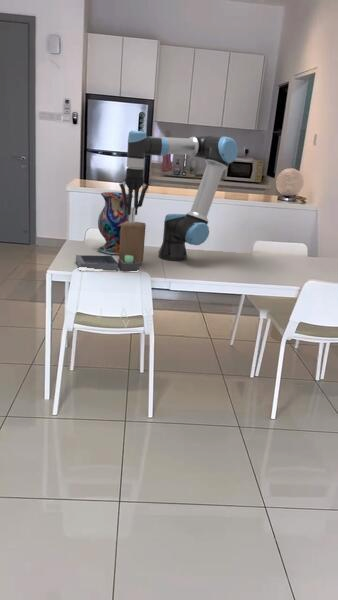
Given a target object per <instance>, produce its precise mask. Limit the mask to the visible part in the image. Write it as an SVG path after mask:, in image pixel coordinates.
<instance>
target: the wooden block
mask: <svg viewBox="0 0 338 600" xmlns="http://www.w3.org/2000/svg"><path fill="white" fill-rule="evenodd" d="M146 226H147V224H146V223H145V222H142V221H141V222H139V221H135V222H134V223H133V222H132V223H130V222H129V221H126V222H124V223H122V224H121V233H120V249H119V254H118V259H125V255H132V256H134V257H133V259H135V260H136V261H137V262H138V263H139V266H140V265H141V264H142V263H144V253H145V252H144V251H145V241H146V240H145V238H146Z"/></svg>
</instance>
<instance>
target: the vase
mask: <svg viewBox="0 0 338 600" xmlns="http://www.w3.org/2000/svg"><path fill="white" fill-rule="evenodd" d="M100 195H101V196H102V198H103V200H104V206H103V208H102V210H101V211H100V213H99V214H98V219H97V226H98V231H99V233H100V235H101V236H102V237H103V238H104V240H105V243H104V244H103V245H102V246H100V247H98V251H99V252H101V253H103V254H110V255H119V249H120V233H121V224H122V223H124V222H126V221H129V215H128V214H127V206H125V205H124V204H123V198H122V192H115V191H112V192H111V191H104V192H101V193H100ZM126 199H127V203H128V193H126ZM132 199H134V194H132Z"/></svg>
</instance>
